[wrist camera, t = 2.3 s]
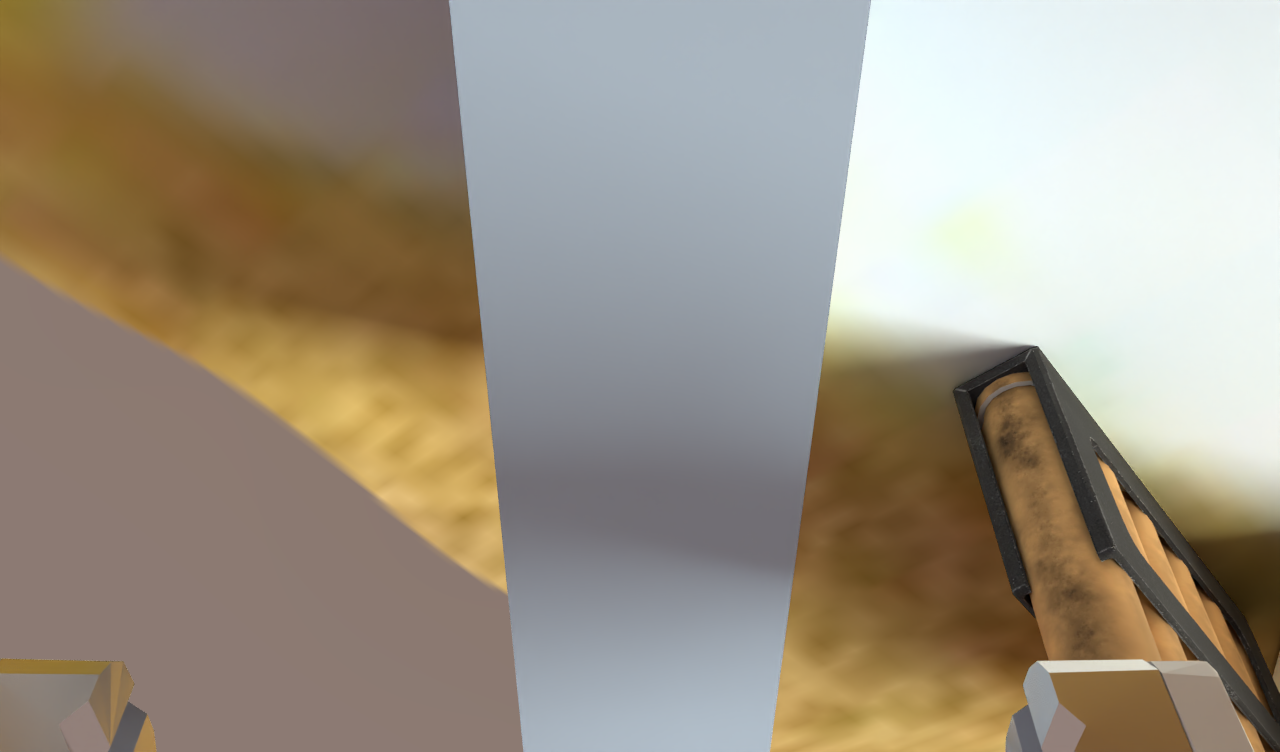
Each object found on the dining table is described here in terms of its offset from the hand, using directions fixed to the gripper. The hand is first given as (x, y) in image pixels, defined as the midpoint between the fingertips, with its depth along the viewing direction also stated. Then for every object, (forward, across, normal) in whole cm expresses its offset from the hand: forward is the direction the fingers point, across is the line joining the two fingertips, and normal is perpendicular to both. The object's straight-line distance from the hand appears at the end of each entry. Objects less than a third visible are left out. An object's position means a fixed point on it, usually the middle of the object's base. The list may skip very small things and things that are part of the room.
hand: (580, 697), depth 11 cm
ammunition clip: (+12, -11, +10) cm, 19 cm away
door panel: (+12, -1, 0) cm, 12 cm away
